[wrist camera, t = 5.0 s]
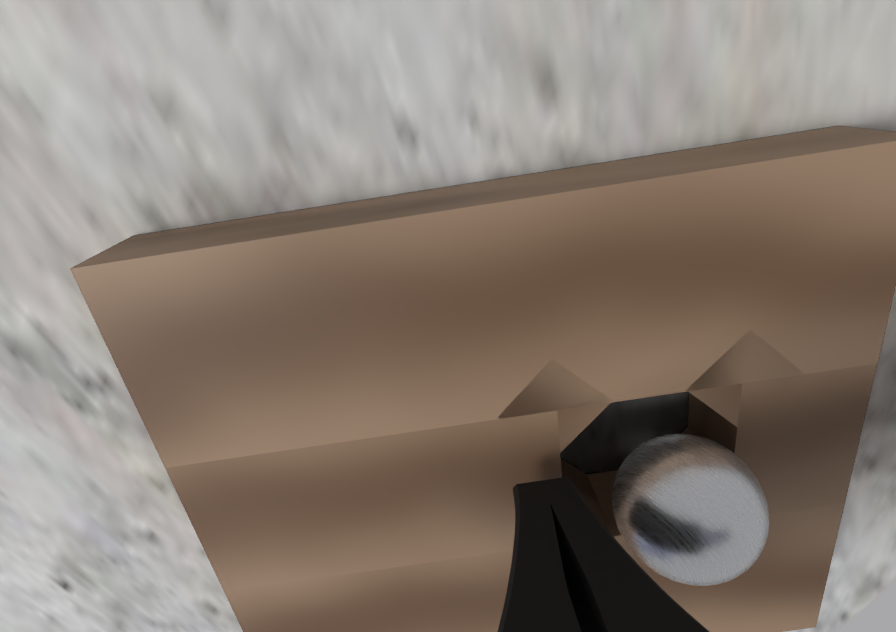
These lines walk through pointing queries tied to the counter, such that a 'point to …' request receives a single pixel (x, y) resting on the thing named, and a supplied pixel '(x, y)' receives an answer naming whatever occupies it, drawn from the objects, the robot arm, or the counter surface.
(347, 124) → the counter surface
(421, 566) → the walnut plate
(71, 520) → the counter surface
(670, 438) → the steel ball
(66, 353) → the counter surface
